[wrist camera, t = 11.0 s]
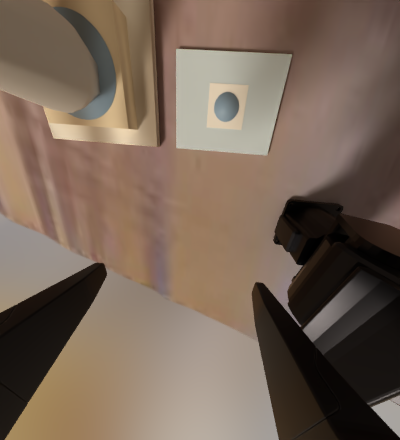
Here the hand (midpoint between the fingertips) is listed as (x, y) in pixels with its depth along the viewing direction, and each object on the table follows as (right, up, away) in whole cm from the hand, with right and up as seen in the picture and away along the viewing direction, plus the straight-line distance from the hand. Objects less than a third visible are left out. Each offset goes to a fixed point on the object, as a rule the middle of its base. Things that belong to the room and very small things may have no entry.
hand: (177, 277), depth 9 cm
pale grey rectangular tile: (+4, +15, +7) cm, 17 cm away
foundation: (-9, +17, +7) cm, 21 cm away
